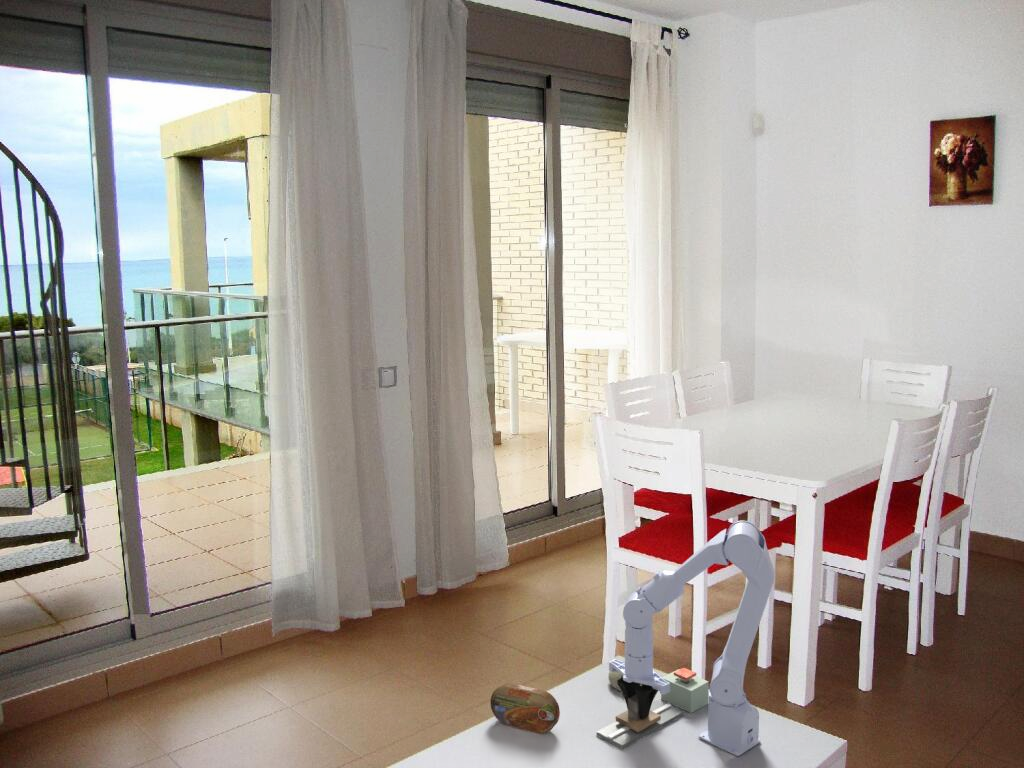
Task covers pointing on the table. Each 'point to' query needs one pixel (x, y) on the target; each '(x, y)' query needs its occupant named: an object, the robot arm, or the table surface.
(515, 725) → the tin
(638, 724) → the carriage
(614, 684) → the sea urchin shell
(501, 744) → the table surface
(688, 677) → the button
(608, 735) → the track
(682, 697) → the pale green block
